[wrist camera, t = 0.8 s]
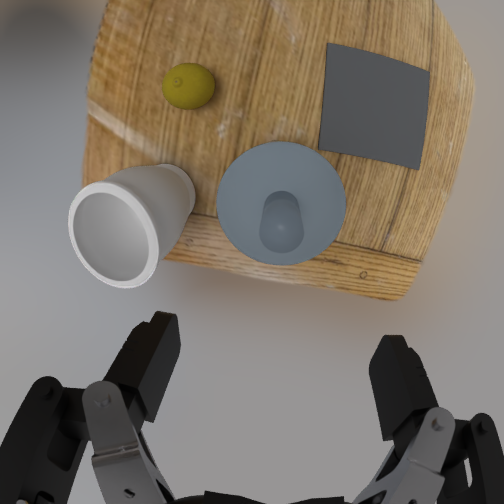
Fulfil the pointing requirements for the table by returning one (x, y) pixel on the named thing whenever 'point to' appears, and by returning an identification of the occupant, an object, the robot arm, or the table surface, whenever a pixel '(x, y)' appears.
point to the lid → (281, 203)
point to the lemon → (188, 86)
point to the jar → (130, 222)
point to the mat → (373, 107)
